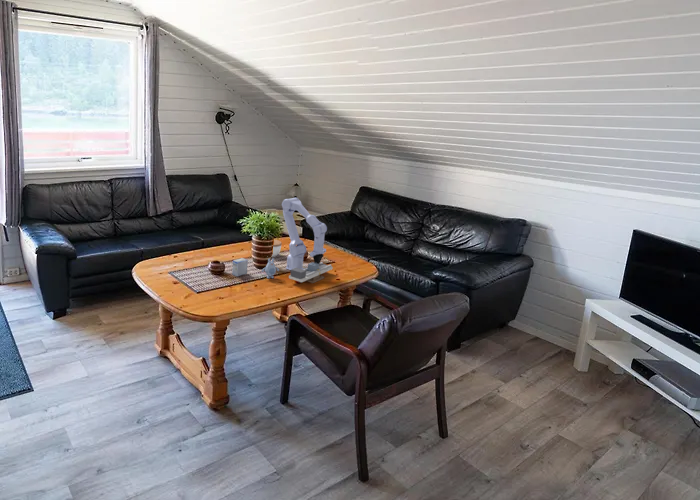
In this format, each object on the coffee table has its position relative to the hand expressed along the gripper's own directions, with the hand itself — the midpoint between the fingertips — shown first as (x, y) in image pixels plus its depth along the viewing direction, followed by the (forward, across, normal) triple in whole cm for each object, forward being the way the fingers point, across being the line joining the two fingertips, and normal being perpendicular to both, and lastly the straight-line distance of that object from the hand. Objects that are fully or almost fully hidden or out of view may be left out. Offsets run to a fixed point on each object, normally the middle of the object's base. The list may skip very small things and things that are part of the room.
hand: (316, 265), depth 305 cm
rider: (+2, -4, 0) cm, 4 cm away
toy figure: (+7, -22, +17) cm, 29 cm away
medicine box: (+7, -30, +33) cm, 45 cm away
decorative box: (+7, +11, +43) cm, 45 cm away
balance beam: (+7, -5, 0) cm, 8 cm away
